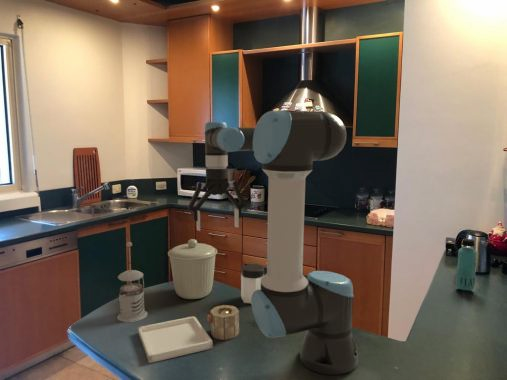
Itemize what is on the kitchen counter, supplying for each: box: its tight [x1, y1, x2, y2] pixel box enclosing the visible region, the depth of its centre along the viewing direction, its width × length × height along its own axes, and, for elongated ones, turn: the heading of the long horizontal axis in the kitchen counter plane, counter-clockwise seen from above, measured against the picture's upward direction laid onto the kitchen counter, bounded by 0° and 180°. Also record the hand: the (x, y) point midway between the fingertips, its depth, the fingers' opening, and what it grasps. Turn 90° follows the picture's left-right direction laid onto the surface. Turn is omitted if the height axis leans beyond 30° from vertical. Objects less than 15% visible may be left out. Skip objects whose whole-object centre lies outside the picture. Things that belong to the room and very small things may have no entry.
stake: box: [220, 310, 229, 314], centre depth 122 cm, size 3×3×7 cm
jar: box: [240, 263, 265, 304], centre depth 146 cm, size 9×8×12 cm
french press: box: [116, 241, 149, 323], centre depth 134 cm, size 10×12×25 cm
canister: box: [167, 238, 218, 300], centre depth 151 cm, size 18×18×21 cm
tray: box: [137, 315, 214, 364], centre depth 118 cm, size 18×18×2 cm
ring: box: [206, 304, 240, 341], centre depth 122 cm, size 8×9×7 cm
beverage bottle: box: [455, 238, 478, 291], centre depth 153 cm, size 6×7×20 cm
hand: (217, 228), depth 141 cm, fingers open, 13 cm apart
